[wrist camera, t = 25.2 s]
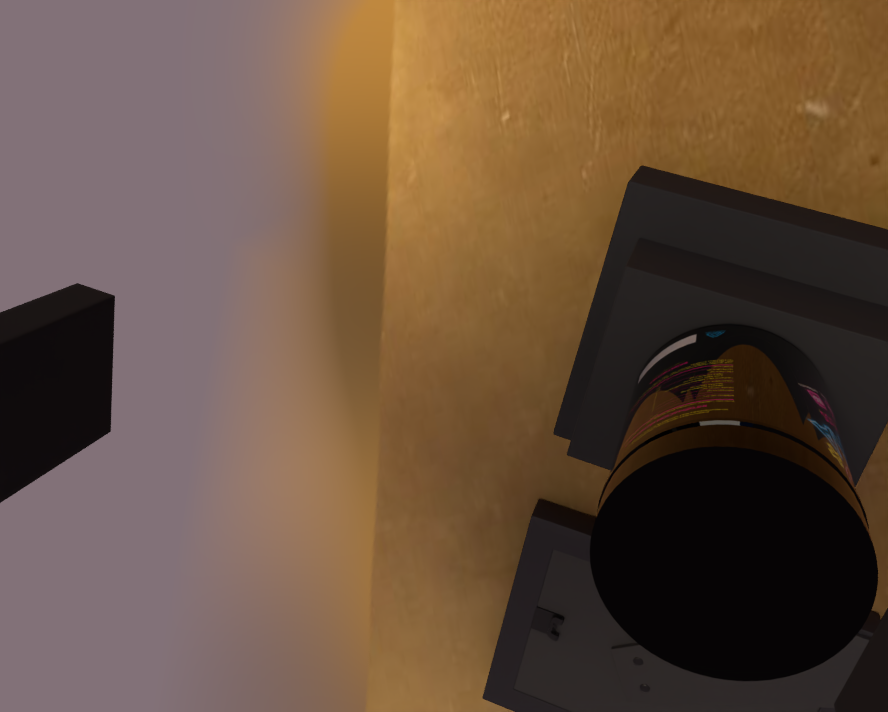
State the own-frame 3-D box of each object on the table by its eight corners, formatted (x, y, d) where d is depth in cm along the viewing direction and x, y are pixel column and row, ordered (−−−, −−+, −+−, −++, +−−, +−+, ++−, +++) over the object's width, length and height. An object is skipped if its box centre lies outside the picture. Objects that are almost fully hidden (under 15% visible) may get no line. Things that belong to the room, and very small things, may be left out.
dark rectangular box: (571, 394, 42) (552, 435, 37) (640, 164, 37) (628, 180, 32) (808, 472, 39) (818, 526, 35) (917, 236, 34) (945, 264, 30)
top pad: (586, 406, 36) (566, 455, 32) (639, 236, 33) (625, 265, 29) (814, 481, 34) (826, 545, 30) (895, 308, 31) (922, 351, 27)
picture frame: (879, 612, 41) (539, 497, 44) (887, 641, 39) (530, 518, 42) (786, 793, 46) (489, 676, 50) (788, 827, 44) (479, 702, 48)
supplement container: (726, 521, 31) (725, 724, 21) (593, 402, 31) (535, 553, 22) (874, 408, 28) (948, 588, 18) (726, 276, 28) (725, 389, 18)
